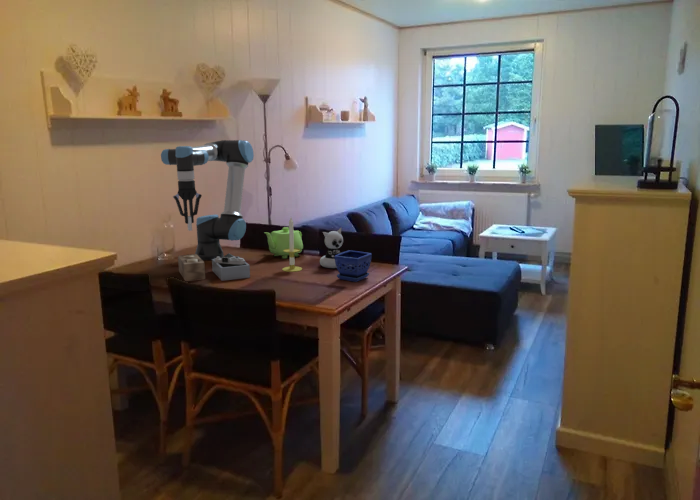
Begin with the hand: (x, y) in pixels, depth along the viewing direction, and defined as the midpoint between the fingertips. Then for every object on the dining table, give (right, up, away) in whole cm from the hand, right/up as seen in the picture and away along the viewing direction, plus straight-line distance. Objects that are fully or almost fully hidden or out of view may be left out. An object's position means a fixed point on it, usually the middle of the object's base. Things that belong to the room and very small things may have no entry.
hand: (190, 230), depth 262 cm
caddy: (+18, -21, +7) cm, 28 cm away
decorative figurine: (+67, -18, +23) cm, 73 cm away
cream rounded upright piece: (+1, -21, +1) cm, 22 cm away
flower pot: (+77, -23, -2) cm, 81 cm away
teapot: (+37, -13, +47) cm, 61 cm away
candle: (+47, -19, +16) cm, 53 cm away
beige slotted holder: (-1, -22, +5) cm, 22 cm away
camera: (+18, -21, +7) cm, 29 cm away
